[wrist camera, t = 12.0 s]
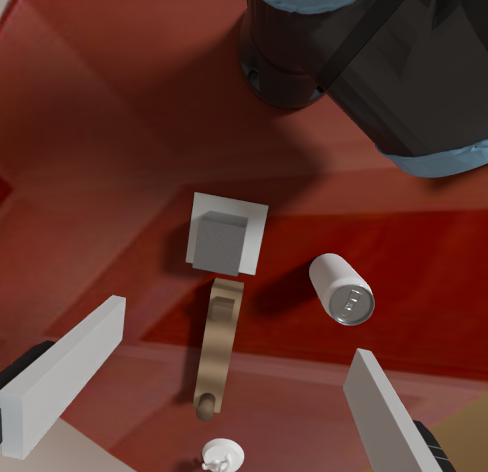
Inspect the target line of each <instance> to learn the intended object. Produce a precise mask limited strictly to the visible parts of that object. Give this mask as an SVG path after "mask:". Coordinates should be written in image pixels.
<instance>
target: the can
mask: <svg viewBox="0 0 488 472" xmlns="http://www.w3.org/2000/svg"><path fill="white" fill-rule="evenodd" d="M309 276H310V279H311V282H312V284H313V286H314V288H315V290H316V292H317V294H318V297H319V299H320V301H321V303H322V305H323V307H324V309H325V310H326V312H327V313H328V314H329V315H330V316H331V317H332V318H334V319H335V320H336V321H337V322H339V323H341V324H344V325H357V324H360V323H362V322H364V321H366V320H367V319H368V318H369V317H370V316H371V314H372V313H373V310H374V306H375V302H374V298H373V295H372V291H371V289H370V287H369V286H368V284H367V283H366V282H365V281H364V280H363V279H362V278H361V277H360V276H359V275H358V274H357V272H356V271H355V270H354V269H353V268H352V267H351V266H350V265H349V264H348V263H347V262H346V261H345V260H344V259H343V258H341V257H340V256H338V255H336V254H323V255H321V256H319V257H317V258H316V259H315V260H314V261H313V262H312V264H311V266H310V269H309Z"/></svg>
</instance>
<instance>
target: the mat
mask: <svg viewBox="0 0 488 472" xmlns="http://www.w3.org/2000/svg"><path fill="white" fill-rule="evenodd" d="M209 211H215V212H220V213H226V214H231V215H236V216H242V217H247V218H249V219H248V224H247V230H246V235H245V241H244V246H243V251H242V257H241V262H240V266H239V271H238V272H241V273H246V274H252V275H255V271H256V266H257V261H258V256H259V251H260V246H261V241H262V236H263V231H264V226H265V221H266V216H267V211H268V205H262V204H257V203H251V202H246V201H241V200H235V199H230V198H224V197H219V196H214V195H208V194H203V193H197V192H195V195H194V202H193V210H192V218H191V225H190V233H189V240H188V248H187V256H186V262H188V263H193V260H194V252H195V245H196V238H197V231H198V224H199V219H200V218H201V217H202V216H204V215H205V214H206V213H208V212H209Z"/></svg>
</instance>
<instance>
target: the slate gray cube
mask: <svg viewBox="0 0 488 472" xmlns="http://www.w3.org/2000/svg"><path fill="white" fill-rule="evenodd" d="M248 219H249V218H247V217H242V216H236V215H231V214H226V213H220V212H215V211H209V212H208V213H206V214H205V215H204V216H202V217H201V218H200V219H199V224H198V231H197V238H196V245H195V252H194V260H193V267H192V268H196V269H202V270H207V271H212V272H218V273H223V274H228V275H233V276H238V271H239V266H240V262H241V257H242V251H243V246H244V241H245V235H246V230H247V224H248Z"/></svg>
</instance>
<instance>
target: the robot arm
mask: <svg viewBox="0 0 488 472" xmlns="http://www.w3.org/2000/svg"><path fill="white" fill-rule="evenodd" d="M247 7H248V9H247V10H246V13H245V15H244V17H243V20H242V23H241V26H240V31H239V37H238V55H239V62H240V67H241V71H242V74H243V76H244V79H245V81H246V83H247V84H248V86H249V87H250V89H251V90H252V91H253V93H254V94H255V95H256V96H257V97H259V98H260V99H261V100H262V101H264V102H266V103H267V104H269V105H272V106H274V107H277V108H282V109H297V108H302V107H305V106H308V105H310V104H312V103H314V102H316V101H318V100H319V99H321V98H322V97H323V96H324V95H326V94H327V95H328V96H329V97H330V98H331V99H332V100H333V101H334V102H335V103H336V104H337V105H338V106H339V107H340V108H341V109H342V110H343V111H344V112H345V113H346V114H347V115H348V116H349V117H350V118H351V120H352V121H353V122H354V123H355V124H356V125H357V126H358V127H359V128H360V129H361V130H362V131H363V132H364V133H365V134H366V135H367V136H368V137H369V138H370V139H371V140H372V141H373V142H374V143H375V147H376V149H377V150H378V151H379V153H381V154H382V155H384V156H385V157H387V158H389V159H390V160H391V161H392V162H394V163H395V164H396V165H397V166H398V167H399V168H400V169H401V170H402V171H404V172H405V173H408V174H410V175H412V176H416V177H424V178H435V177H443V176H449V175H453V174H457V173H461V172H465V171H468V170H471V169H474V168H477V167H479V166H482V165H484V164H487V163H488V0H247ZM125 303H126V298H123V297H119V296H114V295H112V296H111V297H110V298H109V299H108V300H106V301H105V302H104V303H103V304H102V305H100V306H99V307H98V308H97V309H96V310H95V311H93V312H92V313H91V314H90V315H89V316H87V317H86V318H85V319H84V320H83V321H82V322H80V323H79V324H78V325H77V326H76V327H74V328H73V329H72V330H71V331H70V332H69V333H67V334H66V335H65V336H64V337H63V338H61V339H60V340H59V341H58V342H53V341H48V340H47V341H45V342H43V343H41V344H38V345H36V346H34V347H33V348H31V349H30V350H29V351H27V352H26V353H25V354H24V355H22V357H20V358H18V359H17V360H16V361H15V362H13V364H12V365H9V366H8V367H7V368H6V369H4V370H3V371H2V372H0V444H2V455H3V456H7V457H12V458H16V459H21V460H24V459H25V458H26V457H27V455H28V454H29V453H30V452H31V450H32V449H33V448H34V446H36V444H37V443H38V442H39V441H40V439H41V438H42V437H43V436H44V435H45V433H46V432H47V431H48V430H49V428H50V427H51V426H52V424H54V422H55V421H56V420H57V419H58V417H59V416H60V415H61V414H62V413H63V411H64V410H65V409H66V408H67V406H68V405H69V404H70V403H71V402H72V400H73V399H74V398H75V397H76V395H77V394H78V393H79V392H80V391H81V389H82V388H83V387H84V386H85V384H86V383H87V382H88V381H89V380H90V378H91V377H92V376H93V375H94V374H95V372H96V371H97V370H98V369H99V367H100V366H101V365H102V364H103V363H104V361H105V360H106V359H107V358H108V356H109V355H110V354H111V353H112V352H113V350H114V349H115V348H116V347H117V345H118V344H119V343H120V342H121V341H122V335H123V324H124V313H125ZM343 390H344V393H345V396H346V398H347V401H348V404H349V407H350V409H351V412H352V415H353V418H354V420H355V423H356V426H357V428H358V431H359V434H360V437H361V439H362V442H363V445H364V448H365V450H366V453H367V456H368V459H369V461H370V464H371V467H372V469H373V472H456V471H455V469H454V467H453V466H452V464H451V463H450V462H449V461H448V458H447V456H446V455H445V453H444V452H443V450H441V447H440V446H439V444H438V442H437V441H436V439H435V438H434V436H433V435H432V433H431V432H430V431H429V430H428V429H427V428H426V427H425V426H424V425H423V424H422V423H421V422H420V421H415V420H412V419H411V418H410V416H409V414H408V412H407V411H406V409H405V407H404V406H403V404H402V402H401V401H400V399H399V397H398V396H397V394H396V392H395V391H394V389H393V387H392V386H391V384H390V382H389V381H388V379H387V377H386V375H385V374H384V372H383V370H382V369H381V367H380V365H379V364H378V362H377V360H376V359H375V357H374V355H373V354H372V352H371V351H368V350H363V349H358V348H357V351H356V354H355V356H354V359H353V362H352V365H351V367H350V370H349V373H348V376H347V378H346V381H345V384H344V387H343Z"/></svg>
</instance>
